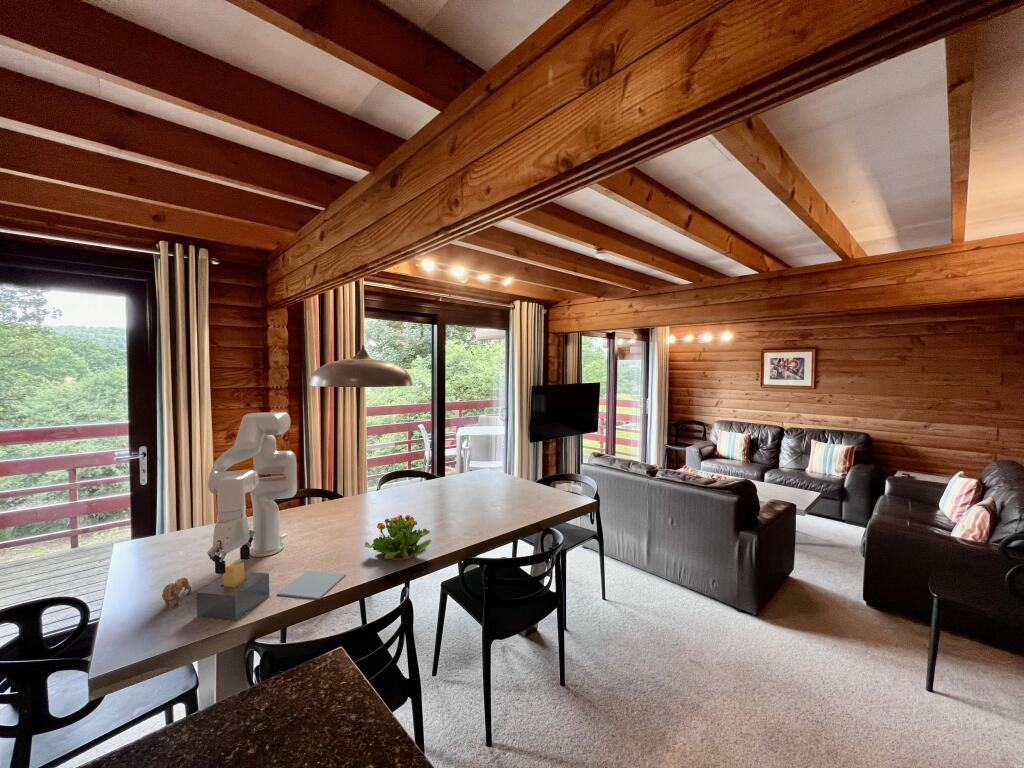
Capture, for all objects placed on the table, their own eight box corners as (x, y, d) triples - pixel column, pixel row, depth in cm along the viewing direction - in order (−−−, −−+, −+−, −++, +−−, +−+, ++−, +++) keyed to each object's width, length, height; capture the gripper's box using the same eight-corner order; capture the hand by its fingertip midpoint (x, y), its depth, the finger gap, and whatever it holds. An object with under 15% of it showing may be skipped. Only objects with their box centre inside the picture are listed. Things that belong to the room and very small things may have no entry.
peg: (234, 596, 137) (233, 561, 137) (244, 597, 137) (243, 562, 136) (224, 603, 133) (223, 567, 133) (235, 604, 133) (233, 568, 132)
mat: (307, 572, 157) (307, 570, 157) (345, 575, 155) (345, 574, 155) (276, 595, 141) (276, 593, 141) (319, 599, 139) (319, 597, 139)
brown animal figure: (180, 612, 132) (179, 585, 131) (159, 616, 130) (158, 588, 129) (193, 589, 145) (192, 564, 145) (175, 593, 143) (174, 567, 143)
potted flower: (411, 538, 188) (411, 500, 187) (446, 553, 173) (445, 512, 172) (361, 558, 169) (360, 516, 168) (395, 576, 154) (394, 531, 153)
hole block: (233, 592, 143) (233, 570, 143) (269, 596, 141) (269, 573, 140) (197, 617, 129) (196, 592, 129) (236, 621, 127) (235, 596, 127)
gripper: (243, 505, 143) (244, 553, 143) (197, 523, 126) (199, 578, 126) (262, 506, 141) (263, 555, 142) (218, 524, 124) (220, 580, 125)
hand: (233, 566), depth 134 cm, fingers open, 9 cm apart
